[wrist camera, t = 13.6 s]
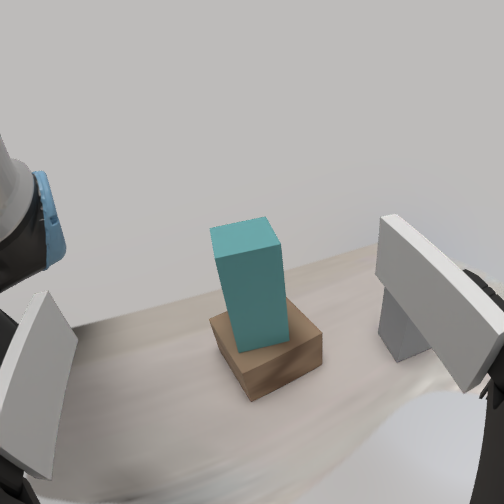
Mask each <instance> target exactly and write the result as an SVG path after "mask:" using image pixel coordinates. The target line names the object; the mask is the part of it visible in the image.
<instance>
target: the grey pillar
mask: <svg viewBox="0 0 504 504" xmlns="http://www.w3.org/2000/svg"><path fill="white" fill-rule="evenodd" d="M378 334H379V335H380V337H381V338H382V340H383V342H384V343H385V345H386V346H387V348H388V349H389V351H390V353H391V354H392V356H393V357H394V359H395V361H396V362H400V361H402V360H405V359H407V358H410V357H412V356H414V355H417V354H419V353H421V352H423V351H426V350H428V349H430V348H432V347H431V346H430V345H429V343H428V342H427V341H426V339H425V338H424V336H423V335H422V334H421V332H420V331H419V330H418V328H417V327H416V326H415V324H414V323H413V322H412V320H411V319H410V318H409V316H408V315H407V314H406V313H405V311H404V310H403V309H402V307H401V306H400V305H399V304H398V302H397V301H396V300H395V298H394V297H393V296H392V295H391V293H390V292H389V291H388V290H387V288H386V287H385V288H384V296H383V303H382V310H381V317H380V323H379V329H378Z"/></svg>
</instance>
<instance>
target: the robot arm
mask: <svg viewBox="0 0 504 504" xmlns="http://www.w3.org/2000/svg"><path fill="white" fill-rule="evenodd" d="M65 253H66V244H65V239H64V236H63V232H62V229H61V226H60V222H59V219H58V217H57V212H56V208H55V204H54V201H53V197H52V193H51V190H50V186H49V182H48V179H47V175H46V173H45V172H44V171H38V172H36V171H35V172H32V173H31V171H30V170H29V168H28V166H27V165H26V164H25V163H23V162H21V161H19V160H16V159H10V157H9V155H8V152H7V150H6V147H5V145H4V143H3V140H2V138H1V135H0V293H2V292H3V291H5V290H7V289H9V288H10V287H12V286H14V285H16V284H18V283H19V282H21V281H23V280H25V279H27V278H29V277H31V276H32V275H35V274H37V273H39V272H40V271H45V270H47V269H48V268H49V266H51V265H53V264H54V263H56V262H58V261H59V260H61V259H62V258H63V257H64V255H65ZM375 275H376V276H377V277H378V279H379V280H380V281H381V282H382V283H383V285H384V286H385V287H386V288H387V290H388V291H389V292H390V293H391V295H392V296H393V297H394V298H395V300H396V301H397V302H398V304H399V305H400V306H401V307H402V309H403V310H404V311H405V313H406V314H407V315H408V316H409V318H410V319H411V320H412V322H413V323H414V324H415V326H416V327H417V328H418V330H419V331H420V332H421V334H422V335H423V336H424V338H425V339H426V341H427V342H428V343H429V345H430V346H431V347H432V349H433V350H434V352H435V353H436V354H437V356H438V357H439V359H440V360H441V361H442V363H443V364H444V366H445V367H446V369H447V370H448V371H449V373H450V374H451V376H452V377H453V379H454V380H455V382H456V383H457V385H458V386H459V388H460V389H461V391H462V392H463V394H464V393H466V392H468V391H469V390H471V389H472V388H474V387H476V386H477V385H479V384H480V383H481V381H482V380H483V378H484V377H485V375H486V374H487V373H488V374H489V375H490V377H491V379H490V380H489V382H488V383H487V385H486V386H485V388H484V389H483V390H482V392H481V394H480V397H479V398H480V399H482V398H483V397H484V395H485V394H486V393H487V391H488V396H487V397H486V399H487V410H486V420H485V428H484V436H483V443H482V450H481V455H480V461H479V466H478V471H477V475H476V480H475V485H474V488H473V492H472V496H471V500H470V504H504V300H503V299H502V298H501V297H500V296H499V295H498V294H497V295H496V294H495V291H494V290H493V289H492V288H491V287H488V285H487V284H486V283H485V282H484V281H483V280H482V279H481V278H480V277H479V276H478V275H476V274H474V273H472V272H470V271H468V270H467V269H465V270H461V269H460V268H459V267H458V266H457V265H456V264H454V263H453V262H452V261H451V260H450V259H449V258H448V257H447V256H446V255H445V254H443V253H442V252H441V251H440V250H439V249H438V248H437V247H435V246H434V245H433V244H432V243H431V242H430V241H429V240H427V239H426V238H425V237H424V236H423V235H422V234H420V233H419V232H418V231H417V230H416V229H414V228H413V227H412V226H411V225H409V224H408V223H407V222H406V221H405V220H403V219H402V218H401V217H400V216H398V215H397V214H392V215H387V216H382V217H380V228H379V240H378V251H377V261H376V271H375ZM77 343H78V338H77V337H76V335H75V334H74V332H73V330H72V329H71V327H70V326H69V324H68V323H67V321H66V320H65V318H64V316H63V315H62V313H61V311H60V310H59V308H58V306H57V305H56V303H55V301H54V300H53V298H52V296H51V294H50V293H49V291H43V292H39V293H35V294H34V295H33V297H32V299H31V302H30V303H29V305H28V307H27V310H26V311H25V313H24V315H23V317H22V319H21V321H20V324H17V323H16V322H15V321H14V320H13V319H12V318H10V317H9V316H8V315H7V314H6V313H5V312H3V311H2V310H1V309H0V504H40V502H39V500H38V498H37V496H36V495H35V493H34V491H33V489H32V487H31V485H30V483H29V482H28V480H27V479H26V478H24V477H23V474H24V471H25V472H26V473H28V474H29V475H31V476H33V477H34V478H38V479H44V480H50V481H51V480H52V470H53V461H54V454H55V446H56V440H57V433H58V427H59V421H60V416H61V411H62V405H63V400H64V396H65V391H66V386H67V382H68V378H69V374H70V369H71V365H72V361H73V358H74V354H75V350H76V346H77Z"/></svg>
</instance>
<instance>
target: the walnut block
mask: <svg viewBox="0 0 504 504" xmlns="http://www.w3.org/2000/svg"><path fill="white" fill-rule="evenodd" d="M286 304H287V316H288V328H289V340H290V341H287V342H283V343H279V344H275V345H271V346H267V347H262V348H258V349H254V350H250V351H245V352H241V353H238V349H237V345H236V341H235V337H234V334H233V330H232V326H231V322H230V318H229V314H228V311H227V312H224V313H222V314H220V315H217V316H215V317H213V318H210V319H209V321H210V324H211V327H212V330H213V333H214V335H215V338H216V341H217V344H218V347H219V350H220V351H221V353H222V355H223V356H224V358H225V360H226V361H227V363H228V365H229V367H230V368H231V370H232V372H233V373H234V375H235V377H236V378H237V380H238V381H239V383H240V385H241V386H242V388H243V390H244V391H245V393H246V394H247V396H248V398H249V399H250V401H251V402H252V401H254V400H256V399H258V398H260V397H262V396H264V395H266V394H268V393H270V392H272V391H274V390H276V389H278V388H280V387H282V386H284V385H286V384H288V383H290V382H292V381H293V380H295V379H297V378H299V377H301V376H303V375H304V374H306V373H308V372H310V371H311V370H313V369H315V368H317V367H318V366H320V365H322V332H321V331H320V330H319V329H318V328H317V327H316V326H315V325H314V324H313V323H312V322H311V321H310V320H309V319H308V318H307V317H306V316H305V315H304V314H303V313H302V312H301V311H300V310H299V309H298V308H297V307H296V306H295V305H294V304H293V303H292V302H291V301H290V300H289V299H288V298H287V297H286Z"/></svg>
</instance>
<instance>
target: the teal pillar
mask: <svg viewBox="0 0 504 504" xmlns="http://www.w3.org/2000/svg"><path fill="white" fill-rule="evenodd" d="M210 233H211V239H212V245H213V251H214V256H215V261H216V266H217V270H218V274H219V278H220V282H221V286H222V290H223V294H224V298H225V302H226V306H227V310H228V314H229V318H230V322H231V326H232V330H233V334H234V337H235V341H236V345H237V349H238V353H241V352H245V351H250V350H254V349H258V348H262V347H267V346H271V345H275V344H279V343H283V342H287V341H290V340H289V328H288V316H287V304H286V293H285V282H284V271H283V261H282V250H281V243H280V242H279V240H278V238H277V236H276V234H275V233H274V231H273V229H272V227H271V225H270V224H269V222H268V220H267V218H266V217H261V218H256V219H252V220H246V221H242V222H237V223H232V224H227V225H223V226H218V227H213V228H210Z"/></svg>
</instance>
